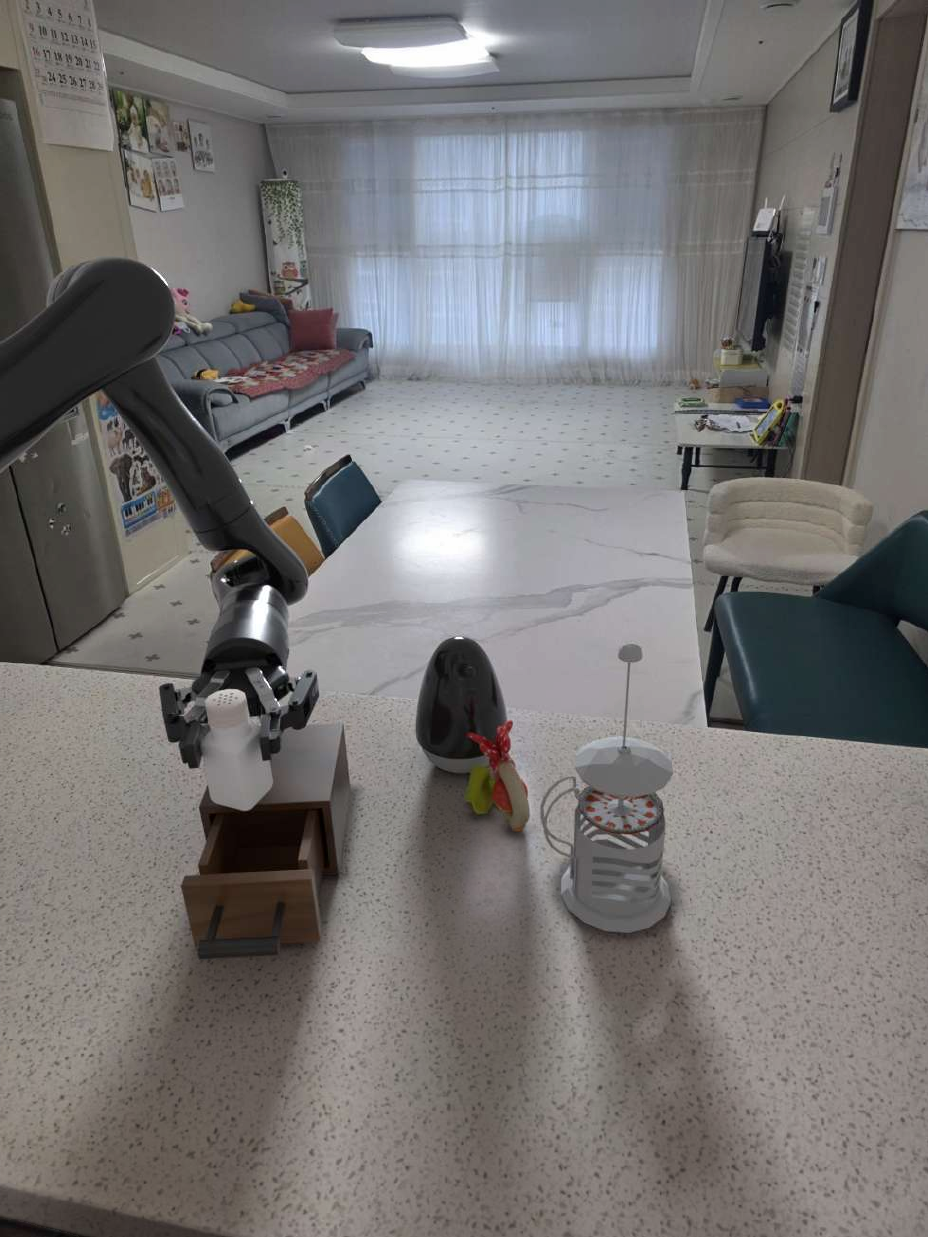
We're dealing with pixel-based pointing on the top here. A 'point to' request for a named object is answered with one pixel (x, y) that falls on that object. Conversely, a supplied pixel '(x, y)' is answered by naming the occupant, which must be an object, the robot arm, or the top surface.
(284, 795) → the cabinet
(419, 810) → the top surface
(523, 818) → the bird rattle
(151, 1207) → the top surface
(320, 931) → the drawer
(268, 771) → the pepper shaker
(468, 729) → the black egg-shaped device
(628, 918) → the french press
